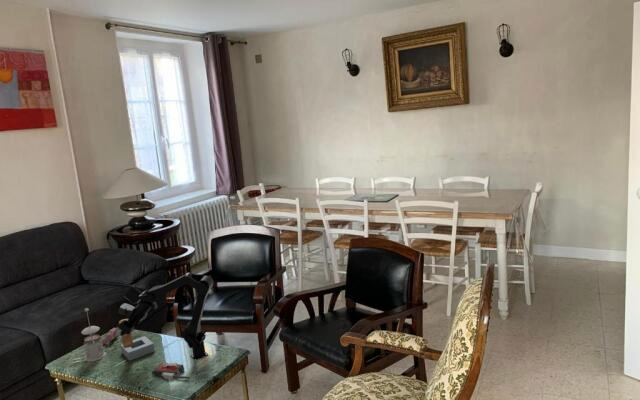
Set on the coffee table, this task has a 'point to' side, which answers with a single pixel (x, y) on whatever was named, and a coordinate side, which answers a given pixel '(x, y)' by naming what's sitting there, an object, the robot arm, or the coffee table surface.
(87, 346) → the french press
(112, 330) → the video game controller
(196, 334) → the robot arm
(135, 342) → the socket block
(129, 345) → the peg
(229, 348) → the coffee table surface
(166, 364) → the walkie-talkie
